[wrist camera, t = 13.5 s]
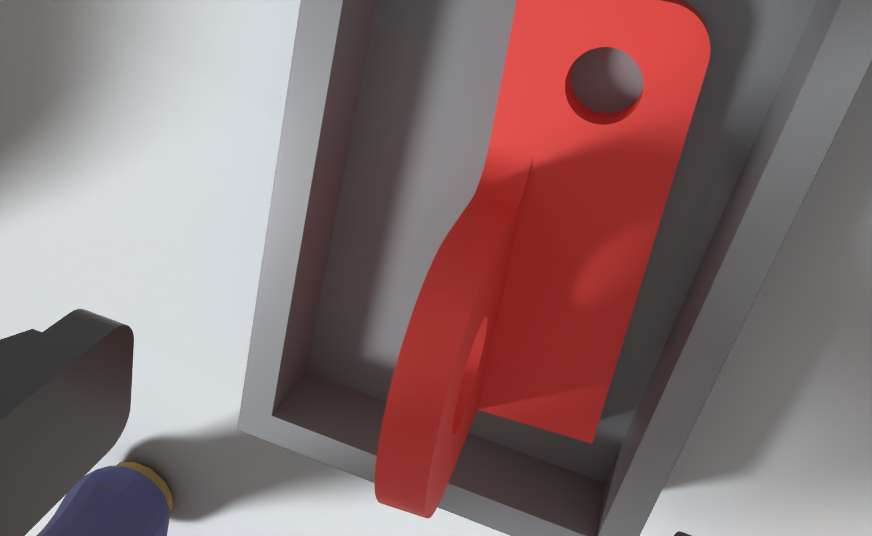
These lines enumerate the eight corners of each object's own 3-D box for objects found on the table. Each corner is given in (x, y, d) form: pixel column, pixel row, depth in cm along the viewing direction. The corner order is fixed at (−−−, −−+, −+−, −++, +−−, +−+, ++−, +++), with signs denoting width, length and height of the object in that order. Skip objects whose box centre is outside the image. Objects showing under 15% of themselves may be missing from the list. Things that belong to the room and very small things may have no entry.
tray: (392, -231, 19) (338, -254, 16) (903, -100, 18) (949, -98, 15) (286, 370, 28) (237, 429, 25) (626, 497, 26) (619, 577, 23)
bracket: (596, 421, 24) (559, 634, 17) (450, 378, 25) (359, 565, 18) (722, 6, 19) (743, 74, 12) (530, -32, 19) (444, 11, 13)
